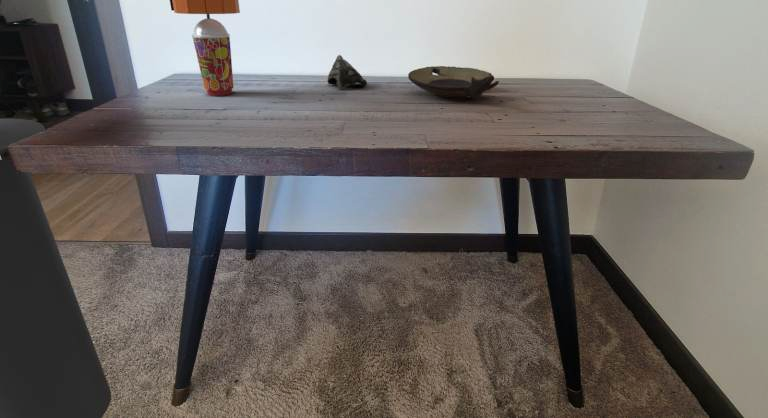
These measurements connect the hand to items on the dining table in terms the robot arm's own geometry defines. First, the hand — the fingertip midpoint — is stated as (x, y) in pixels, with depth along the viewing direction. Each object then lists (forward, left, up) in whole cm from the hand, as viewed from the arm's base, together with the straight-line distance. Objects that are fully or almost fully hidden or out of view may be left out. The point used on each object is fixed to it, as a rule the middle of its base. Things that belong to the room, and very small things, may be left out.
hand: (180, 10), depth 100 cm
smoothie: (+6, 0, -19) cm, 20 cm away
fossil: (+38, +10, -19) cm, 44 cm away
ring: (+6, 0, 0) cm, 6 cm away
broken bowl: (+64, -3, -19) cm, 67 cm away
